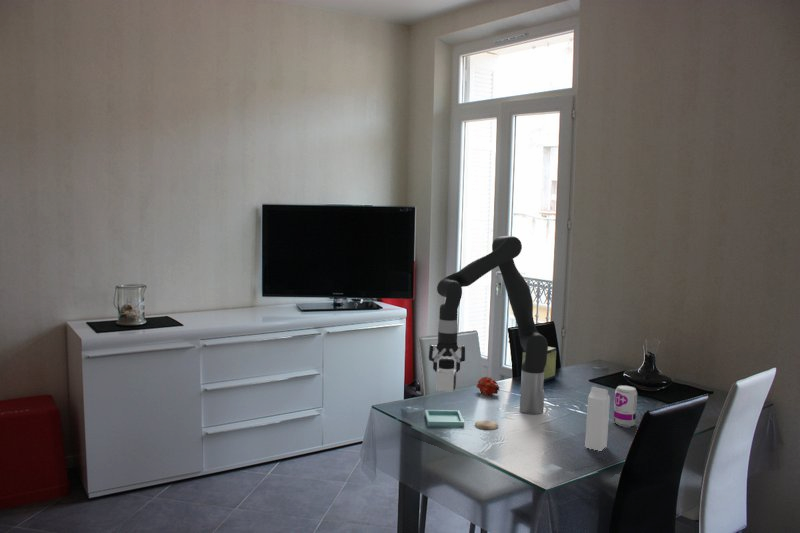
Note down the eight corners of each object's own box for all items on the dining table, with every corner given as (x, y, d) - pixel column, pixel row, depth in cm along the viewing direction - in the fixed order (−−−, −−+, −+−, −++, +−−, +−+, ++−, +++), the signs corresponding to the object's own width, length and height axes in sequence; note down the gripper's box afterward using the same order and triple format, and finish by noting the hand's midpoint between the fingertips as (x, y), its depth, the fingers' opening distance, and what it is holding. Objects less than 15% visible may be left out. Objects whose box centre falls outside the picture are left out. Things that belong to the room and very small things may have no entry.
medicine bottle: (453, 392, 256) (454, 361, 255) (435, 390, 258) (436, 360, 256) (455, 387, 263) (456, 357, 262) (438, 385, 265) (438, 356, 263)
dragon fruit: (478, 393, 304) (497, 404, 296) (469, 386, 299) (488, 396, 290) (487, 378, 306) (507, 388, 297) (479, 370, 301) (498, 380, 292)
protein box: (555, 378, 329) (557, 347, 328) (539, 384, 318) (541, 352, 316) (536, 373, 336) (538, 343, 335) (520, 379, 325) (522, 348, 323)
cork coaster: (495, 421, 262) (495, 420, 262) (500, 430, 253) (500, 428, 253) (473, 421, 262) (473, 420, 262) (476, 429, 253) (476, 428, 253)
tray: (459, 415, 269) (459, 410, 269) (464, 427, 255) (464, 422, 255) (425, 414, 268) (425, 409, 268) (428, 426, 254) (428, 421, 254)
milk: (590, 443, 242) (594, 384, 240) (607, 447, 239) (611, 388, 237) (584, 448, 238) (588, 388, 235) (601, 452, 234) (605, 391, 232)
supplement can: (624, 429, 259) (627, 391, 257) (608, 422, 266) (611, 386, 264) (639, 426, 262) (642, 389, 261) (623, 419, 270) (626, 384, 268)
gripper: (464, 329, 262) (463, 369, 264) (428, 328, 261) (427, 368, 263) (467, 333, 254) (465, 374, 256) (430, 332, 254) (428, 373, 256)
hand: (446, 371), depth 260 cm, fingers closed on medicine bottle, 8 cm apart
